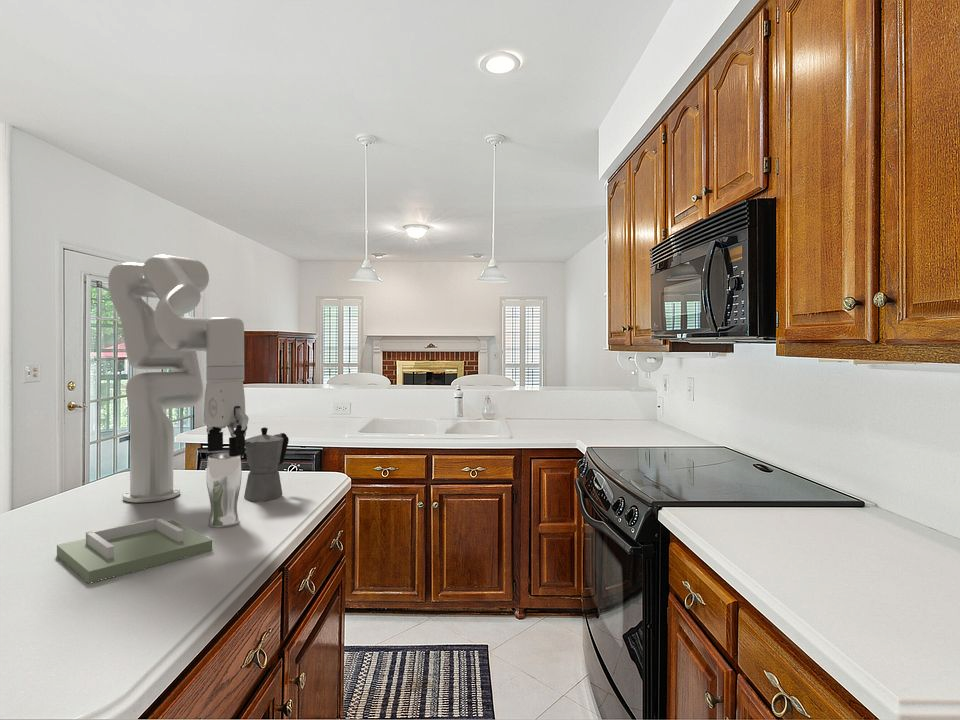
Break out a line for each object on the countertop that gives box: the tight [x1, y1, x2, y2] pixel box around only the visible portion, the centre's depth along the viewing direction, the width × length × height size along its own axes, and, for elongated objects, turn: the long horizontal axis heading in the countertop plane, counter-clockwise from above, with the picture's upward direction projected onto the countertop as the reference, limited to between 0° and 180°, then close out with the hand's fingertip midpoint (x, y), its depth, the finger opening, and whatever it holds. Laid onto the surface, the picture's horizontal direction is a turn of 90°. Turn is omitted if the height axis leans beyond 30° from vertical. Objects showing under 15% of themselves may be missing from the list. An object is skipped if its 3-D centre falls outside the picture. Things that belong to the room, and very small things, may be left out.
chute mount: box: [56, 516, 213, 584], centre depth 104 cm, size 18×20×4 cm
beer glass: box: [206, 452, 243, 529], centre depth 122 cm, size 7×7×15 cm
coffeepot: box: [243, 427, 290, 503], centre depth 145 cm, size 15×9×18 cm, turn 159°
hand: (225, 453), depth 121 cm, fingers open, 9 cm apart
